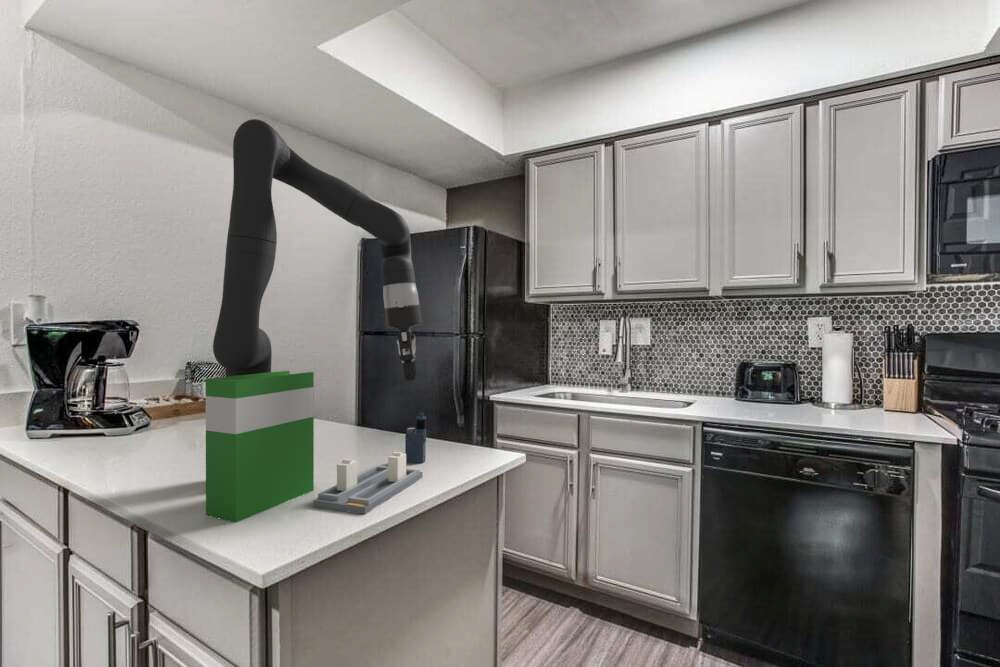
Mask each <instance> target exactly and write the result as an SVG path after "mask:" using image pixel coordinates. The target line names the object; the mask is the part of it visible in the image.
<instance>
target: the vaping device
mask: <svg viewBox="0 0 1000 667" xmlns="http://www.w3.org/2000/svg"><path fill="white" fill-rule="evenodd" d="M415 418H416V419H415V420H416V423H415V425H416V427H407V429H406V430H407V431H406V433H405V436H404V437H405V441H404V442H405V444H404V445H405V446H404V447H405V452H404V454H406V463H411V464H412V463H414V464H424V463H425V462H426V442H427V416H425V415H424V412H419V413H418V415H417V416H416V417H415Z"/></svg>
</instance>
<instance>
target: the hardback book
mask: <svg viewBox="0 0 1000 667" xmlns="http://www.w3.org/2000/svg"><path fill="white" fill-rule="evenodd" d="M314 373H315V372H314V371H306V372H298V373H290V370H280V371H279V370H278V371H271V372H269V373H259V374H249V375H239V376H229V377H225V376H222V377H221V376H220V377H219V376H218V377H213V378H212V377H211V378H205V516H206V515H207V516H206V517H209V516H212V517H211V518H213V517H216V518H215V519H218V518H220V519H219V520H222V519H223V521H227V522H232V523H238V522H241V521H244V520H245V519H248V518H250V517H253V516H256V515H257V514H260V513H262V512H266V511H267V510H270V509H273V508H274V507H278V506H279V504H280V505H282V504H284V502H285V503H287V502H289V501H291V499H292V500H293V498H294V499H296V497H297V498H299V497H302V496H303V494H304V495H306V494H309V493H311V492H313V490H314V489H315V488H314V485H315V483H314V482H315V481H314V480H315V479H314V478H315V477H314V476H315V475H314V469H315V468H314V467H315V466H314V464H315V463H314V461H315V460H314V452H315V450H314V447H315V446H314V444H315V443H314V442H315V441H314V438H315V437H314V434H315V433H314V428H315V427H314V422H315V421H314V418H315V417H314V415H315V414H314V412H315V411H314V410H315V409H314V405H315V404H314V399H315V398H314V390H315V387H314V386H315V385H314V383H315V382H314V379H315V378H314V377H315V376H314V375H315V374H314ZM310 491H311V492H310ZM314 491H315V490H314ZM308 492H309V493H308ZM305 493H306V494H305ZM298 496H299V497H298ZM288 500H289V501H288ZM286 501H287V502H286ZM281 503H282V504H281Z"/></svg>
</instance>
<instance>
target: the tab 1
mask: <svg viewBox="0 0 1000 667" xmlns="http://www.w3.org/2000/svg"><path fill="white" fill-rule="evenodd" d="M357 475H358V460H353V459H349V458H343V459H342V462H340V463H337V464H336V485H337V490H339V491H345V490H347V489H349V488H351V487H353V486H355V485H357Z"/></svg>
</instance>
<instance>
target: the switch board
mask: <svg viewBox="0 0 1000 667" xmlns="http://www.w3.org/2000/svg"><path fill="white" fill-rule="evenodd" d="M422 477H424V476H423V472H422V471H421V469H413V468H406V476H405V477H403V478H402V479H400V480H398V481H397V482H390V481H388V466H383V465H374V466H372V467H370V468H368V469H366V470H364V471H362V472H360V473H357V485H355V486H353V487H351V488H349V489H347V490H345V491H339V490H337V484H335V485H334V486H332V487H329V488H327V489H324V490H323V491H320V493H318V494H317V498H315V499H313V508H319V509H327V510H333V509H334V510H333V511H339V510H342V512H346V511H350V512H349V513H353V512H357V513H356V514H360V513H363V514H362V515H366V514H368V513H369V512H371V511H372V509H373V508H374V509H375V507H376V506H377V507H379V506H380V505H382V504H383V502H384V501H385V502H387V501H389V500H390V499H392V498H393V497H394V495H395V494H396V495H398V494H399V493H400V491H401V492H403V491H404V490H406V489H407V488H408V486H409V487H410V486H412V485H413V484H415V483H416V481H417V480H418V481H420V480H421V479H422ZM420 478H421V479H420ZM419 479H420V480H419ZM418 481H417V482H418ZM414 482H415V483H414ZM411 484H412V485H411ZM406 487H407V488H406ZM405 488H406V489H405ZM403 489H404V490H403ZM397 493H398V494H397ZM396 495H395V496H396ZM392 496H393V497H392ZM389 498H390V499H389ZM386 500H387V501H386ZM385 502H384V503H385ZM381 503H382V504H381ZM378 505H379V506H378ZM377 507H376V508H377ZM374 509H373V510H374ZM370 510H371V511H370ZM367 512H368V513H367Z"/></svg>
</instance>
